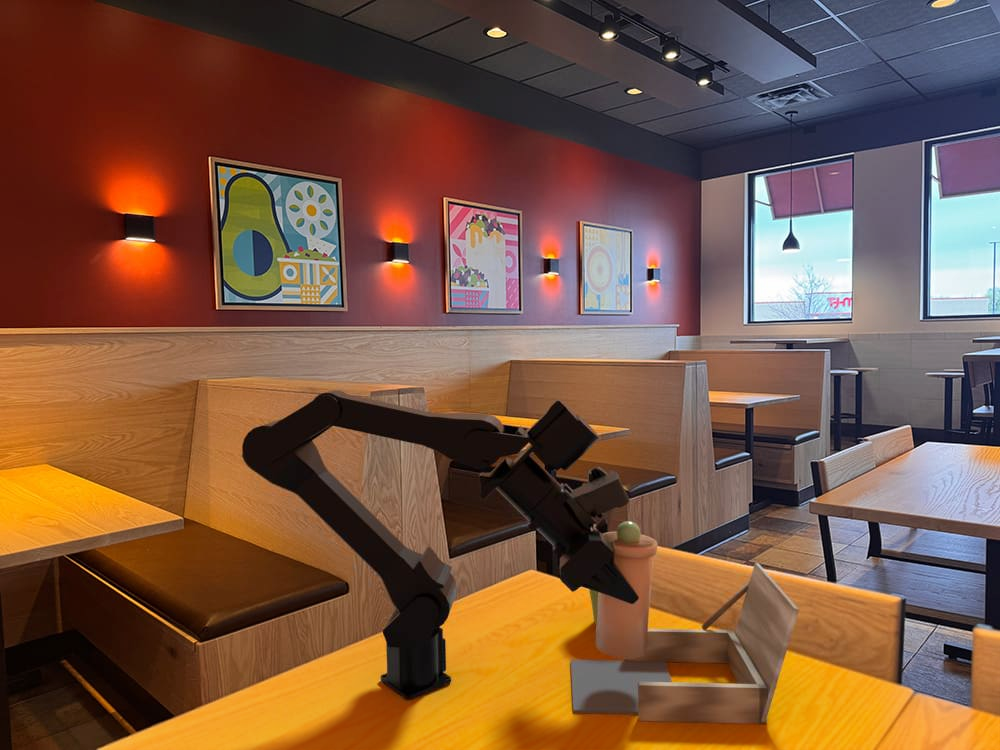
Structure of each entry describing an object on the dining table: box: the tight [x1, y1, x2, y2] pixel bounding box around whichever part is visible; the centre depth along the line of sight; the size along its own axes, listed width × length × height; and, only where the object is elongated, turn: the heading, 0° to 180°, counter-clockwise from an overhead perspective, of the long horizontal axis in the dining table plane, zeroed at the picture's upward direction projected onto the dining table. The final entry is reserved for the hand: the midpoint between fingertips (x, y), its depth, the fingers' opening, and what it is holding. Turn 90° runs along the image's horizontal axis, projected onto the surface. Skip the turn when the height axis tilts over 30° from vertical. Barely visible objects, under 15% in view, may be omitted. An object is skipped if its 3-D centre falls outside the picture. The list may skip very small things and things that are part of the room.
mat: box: [570, 659, 673, 715], centre depth 84 cm, size 12×12×1 cm
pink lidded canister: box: [595, 520, 658, 660], centre depth 83 cm, size 7×7×15 cm
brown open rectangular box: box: [625, 562, 799, 725], centre depth 83 cm, size 17×15×13 cm
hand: (632, 590), depth 83 cm, fingers closed on pink lidded canister, 6 cm apart
